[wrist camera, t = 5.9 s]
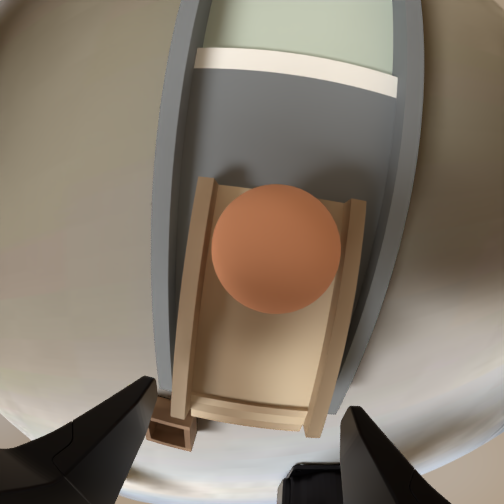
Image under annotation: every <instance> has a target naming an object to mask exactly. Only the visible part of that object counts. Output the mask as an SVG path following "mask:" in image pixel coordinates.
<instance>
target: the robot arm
mask: <svg viewBox="0 0 504 504" xmlns="http://www.w3.org/2000/svg"><path fill="white" fill-rule="evenodd" d="M157 397H158V392H157V385H156V380H155V378H152V377H148V376H143V377H141V378H139V379H138V380H136V381H135V382H133V383H132V384H130V385H129V386H127V387H126V388H124V389H123V390H121V391H119V392H118V393H116V394H115V395H113V396H112V397H110V398H108V399H107V400H105V401H104V402H102V403H100V404H99V405H97V406H96V407H94V408H92V409H91V410H89V411H87V412H86V413H84V414H83V415H81V416H79V417H78V418H76V419H74V420H73V422H69V423H67V424H66V425H64V426H62V427H61V428H59V429H57V430H55V431H53V432H51V433H49V434H47V435H45V436H42V437H40V438H38V439H35V440H33V441H30V442H28V443H25V444H23V445H20V446H17V447H15V448H9V449H0V504H115V501H116V499H117V497H118V495H119V492H120V490H121V488H122V486H123V483H124V481H125V479H126V477H127V475H128V472H129V470H130V468H131V466H132V464H133V461H134V459H135V457H136V455H137V453H138V450H139V448H140V446H141V444H142V442H143V440H144V437H145V435H146V432H147V429H148V426H149V423H150V420H151V417H152V413H153V410H154V407H155V404H156V401H157ZM277 504H451V503H450V502H448V500H446V499H445V498H444V497H443V496H442V495H440V494H439V493H438V492H437V491H436V490H435V489H434V488H433V487H432V486H431V485H429V484H428V483H427V482H426V480H424V478H423V477H422V476H421V475H420V474H419V473H418V472H417V471H416V470H415V469H414V467H413V466H412V465H411V464H410V463H409V462H408V460H407V459H406V458H405V457H404V456H403V455H402V454H401V452H400V451H399V450H398V449H397V448H396V447H395V446H394V444H393V443H392V442H391V441H390V440H389V439H388V438H387V436H386V435H385V434H384V433H383V432H382V431H381V429H380V428H379V427H378V426H377V425H376V424H375V422H374V421H373V420H372V419H371V418H370V417H369V415H368V414H367V413H366V412H365V411H364V410H363V408H362V407H360V406H350V407H348V409H347V411H346V413H345V415H344V416H343V418H342V420H341V425H340V465H334V466H313V465H296V466H293V467H292V469H291V471H290V472H289V474H288V476H287V478H284V479H283V480H282V482H281V484H280V485H279V487H278V493H277Z"/></svg>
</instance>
